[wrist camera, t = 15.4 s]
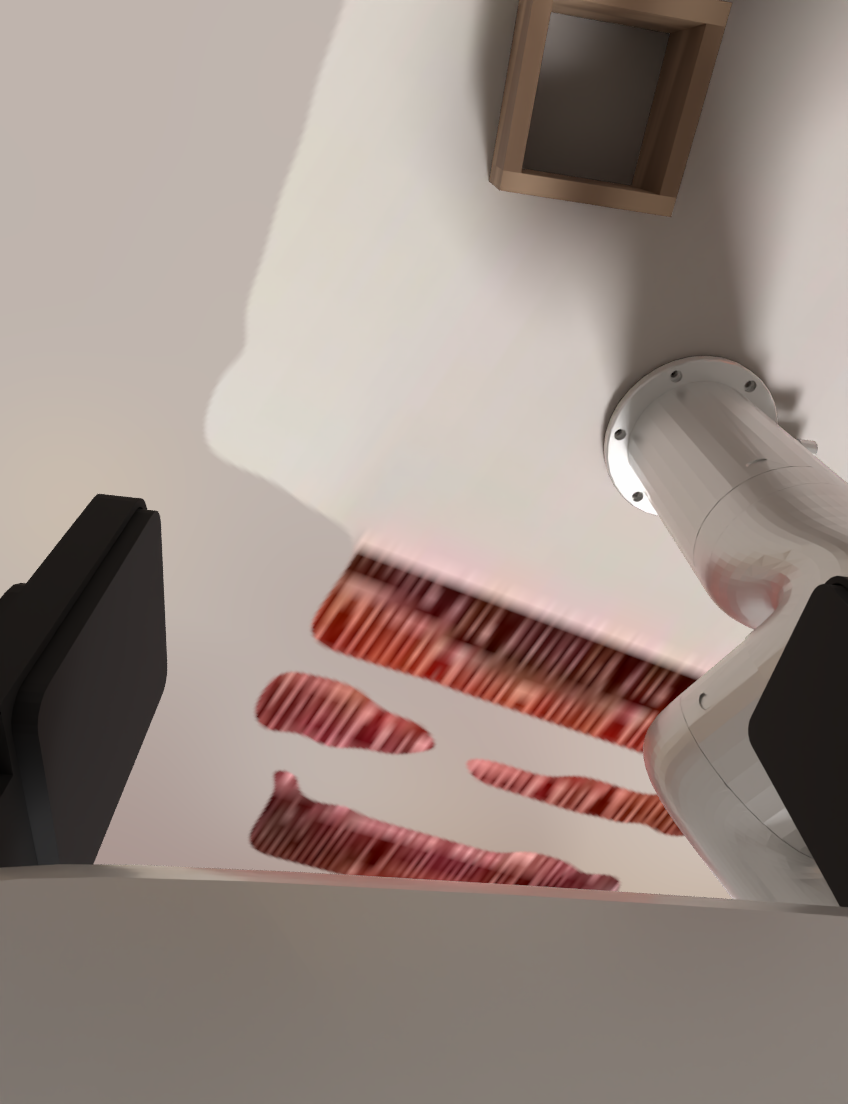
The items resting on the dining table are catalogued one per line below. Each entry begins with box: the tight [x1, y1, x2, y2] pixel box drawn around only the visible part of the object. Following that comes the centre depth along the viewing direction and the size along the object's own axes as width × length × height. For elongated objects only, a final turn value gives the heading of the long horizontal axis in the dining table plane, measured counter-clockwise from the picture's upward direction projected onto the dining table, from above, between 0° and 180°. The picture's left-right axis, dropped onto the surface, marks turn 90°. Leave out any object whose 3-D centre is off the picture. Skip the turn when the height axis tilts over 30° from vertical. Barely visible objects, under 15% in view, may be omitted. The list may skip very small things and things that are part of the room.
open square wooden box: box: [489, 0, 732, 217], centre depth 42 cm, size 10×10×6 cm
